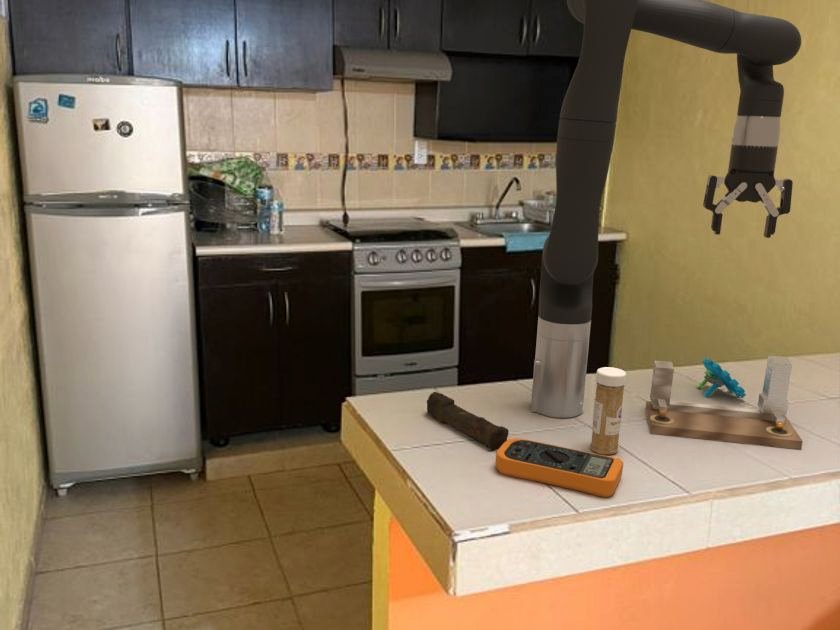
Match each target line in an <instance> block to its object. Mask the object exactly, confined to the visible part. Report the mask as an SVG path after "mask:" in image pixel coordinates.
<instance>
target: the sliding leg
mask: <svg viewBox="0 0 840 630" xmlns="http://www.w3.org/2000/svg"><path fill="white" fill-rule="evenodd" d="M792 367H793V363H792V362H791V361H790V359H789V358H788V357H787V356H778V355H769V354H768V355H767V360H766V367H765V374H764V380H763V386H762V387H763V388H762V392H760V393H759V395H758V401H757V402H758V403H757V407H758V410H760V411H761V412H762V413H766V414H771V415H772V417H773V419H774V420H775V422H776V423H777V425H776V428H777V429H780V430H781V429H783V424H784V420H785V419H784V418H783V416H782V415H785V416H786V417H787V415H788V410H789V409H788V408H789V401H788V399H787V398H788V391H789V386H790V379H791V374H792Z"/></svg>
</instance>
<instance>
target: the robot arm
mask: <svg viewBox="0 0 840 630" xmlns="http://www.w3.org/2000/svg"><path fill="white" fill-rule="evenodd" d="M566 4H567V7H568V10H569V12H570V13H571V15H572V17H573V18H575V19H576V21H578V22H579V23H582V24H583V35H582V45H581V49H580V54H579V59H578V62H577V65H576V67H575V70H574V73H573V75H572V78H571V80H570V81H569V82H570V83H569V85H568V88H567V90H566V93H565V95H564V98H563V102H562V105H561V109H560V113H559V120H558V131H557V136H556V138H557V139H556V152H555V180H556V181H555V182H556V184H555V185H556V193H555V195H556V198H555V207H554V212H553V217H552V221H551V227H550V232H549V235H548V236H547V238H546V239H545V240H544V241H545V242H544V243H543V247H542V254H541V255H542V256H541V266H540V267H541V269H540V284H539V285H540V286H539V296H538V317H537V319H538V320H537V331H536V332H537V333H536V343H535V344H536V346H535V355H534V357H535V358H534V362H533V364H534V365H533V377H532V389H531V402H530V412H532V413H538V414H541V415H542V416H543V415H544V416H547V417H551V418H559V419H560V418H564V419H565V418H574V417H577V416H579V415H582V413H583V412H584V411H583V410H584V402H585V389H586V378H587V370H588V369H587V367H588V357H589V356H588V355H589V348H590V347H589V345H590V335H591V326H592V325H591V324H592V314H593V313H592V312H593V286H594V285H593V284H594V274H595V270H596V268H597V266H598V262H599V230H600V229H599V228H600V226H599V225H600V212H601V204H602V198H603V194H604V190H605V186H606V182H607V177H608V174H609V169H610V166H611V165H610V164H611V159H612V153H613V148H614V141H615V135H616V127H617V122H618V112H619V104H620V96H621V91H622V90H621V89H622V82H623V73H624V65H625V59H626V53H627V50H628V43H629V40H630V35H631V31H632V30H634V31H638V32H643V33H649V34H650V35H651V34H652V35H656V36H659V37H662V38H667V39H670V40H672V41H677V42H679V43H683V44H686V45H688V46H689V45H690V46H693V47H696V48H699V49H703V50H706V51H709V52H713V53H718V54H724V55H725V54H726V55H727V54H728V55H729V54H730V55H731V54H735V55H736V63H737V75H738V83H739V89H740V90H739V91H740V93H739V98H738V105H737V116H736V119H735V122H734V127H733V131H732V136H731V145H730V146H731V147H730V155H729V161H728V169H727V173H726V174H725V177H724V176H716V175H714V174H710V175H708V176H707V177H708V178H707V182H706V188H705V193H704V198H703V203H702V206H703V208H705V209H706V210H709V211H711V212H712V217H711V226H710V228H711V230H712V232H714V235H720V234H721V230H722V222H723V213H722V212H723V211H724V210H725V209H726V208H727V207H728V206H730V205H731V204H732V203H733V202H734V201H737V202H741V203H742V202H743V203H744V202H751V203H759V202H761V204H762V206H763V207H764V209H765V210H766V211H767V213H768V215H766V218H765V224H764V232H763V237H764V238H767V239H770V238H771V237H772V236H773V235H774V234H775V233H776V229H777V221H778V217H780V216H782V215H787V214H790V212H791V205H792V195H793V184H794V183H793V182H794V181H793V180H792V179H790V178H783V179H776V177H775V170H776V169H775V168H776V163H777V156H778V148H779V143H780V135H781V119H782V118H781V116H782V111H783V103H784V97H785V88H784V84H782V83H781V82H779V81H776V80H775V78H774V77H775V76H774V66H778V65H782V64H786V63H788V62H790V61H791V60H793V58H795V57H796V56H797V54H798V52H800V49H801V45H802V36H801V33H800V30H799V29H798V28H797V27H796V25H794V24H793V23H792V22H790V21H789V20H786V19H783V18H778V17H774V16H770V15H769V16H767V15H763V14H762V15H761V14H756V13H747V12H743V11H738V10H736V9H734V8H730V7H727V6H725V5H720V4H716V3H714V2H711V1H706V0H566ZM722 184H724V186H725V187H726V189H727V192H726V193H725V194H724V195H723V196H722V197H721V198H720V200H719V201H717V203H716V204H715V203H714V198H715V193H716V189H718V188H720V186H721V185H722ZM775 186H776V188H777V191H779V192H780V201H779V206H777V207H776V206H775V204H774V202H773V200H772V198H771V197H770V195H769V193H770V192H771V191H772V190H773V189H774V188H775Z"/></svg>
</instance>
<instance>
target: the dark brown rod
mask: <svg viewBox="0 0 840 630" xmlns="http://www.w3.org/2000/svg"><path fill="white" fill-rule="evenodd" d="M426 410H427V413H428V414H429V416H431V418H433V419H434V420H435V421H437V422H438V423H439V424H441V423H442V424H441V425H446V424H448V425H450V426H452V427H453V428H455V429H456V430H458V431H462V432H463V433H465V434H467V435H468V436H470V437H472V438H474V439H476V440H478V441H479V442H480V443H482V444H485V445H486V446H488V449H489V451H491V452H495V451H497V450H498V449H499V448H500V447H501V446H502V444H503V443H504V442H505V441H507V440H508V437H509V429H508V428H507V427H506V426H501V425H500V426H499V425H496V424H494V423H493V422H490V421H489V420H487V419H486V418H485V417H482V416H478V415H476V414H474V413H472V412H470V411H468V410H466V409H464V408H462V407H460V406H458V405H457V404H455V399H453V398H451V397H448V396H447V395H444V394H443V393H440V392H437V391H434V392H432V393H430V394H429V396H428V398H427V400H426Z"/></svg>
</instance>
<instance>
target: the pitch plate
mask: <svg viewBox="0 0 840 630" xmlns="http://www.w3.org/2000/svg"><path fill="white" fill-rule="evenodd" d="M674 372H675V368H674V365H673V362H672V361H666V360H665V361H664V360H663V361H662V360H654V363H653V368H652V379H651V387H650V394H649V398H650V400H645V409H644V410H645V414H646V418H647V424H648V428H649V432H650V434H651V435H661V436H670V437H677V438H678V437H680V438H687V439H689V438H690V439H698V440H699V439H700V440H707V441H718V442H725V443H726V442H727V443H736V444H746V445H754V446H764V447H775V448H782V449H783V448H784V449H790V450H791V449H793V450H800V451H801V450H802V448H803V440H802V438H801V437H800V435H799V434H798V432H797V431H796V429H795V428H794V426H793V424H792V423H791V422H790V420H789V419H788V417H787V416H786V415H782V416H783V418H784V419H785V420H784V424H783V429H781V430H780V429H777V428H776V425H777V423H776V422H775V420H774V419H773V417H772V415H771V414H766V413H762V412H761V411H760V409H754V408H744V407H733V406H723V405H721V406H720V405H715V404H714V405H713V404H703V403H693V402H684V401H683V402H682V401H674V400H671V397H672V396H671V395H672V391H673V390H672V388H673V381H674Z"/></svg>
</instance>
